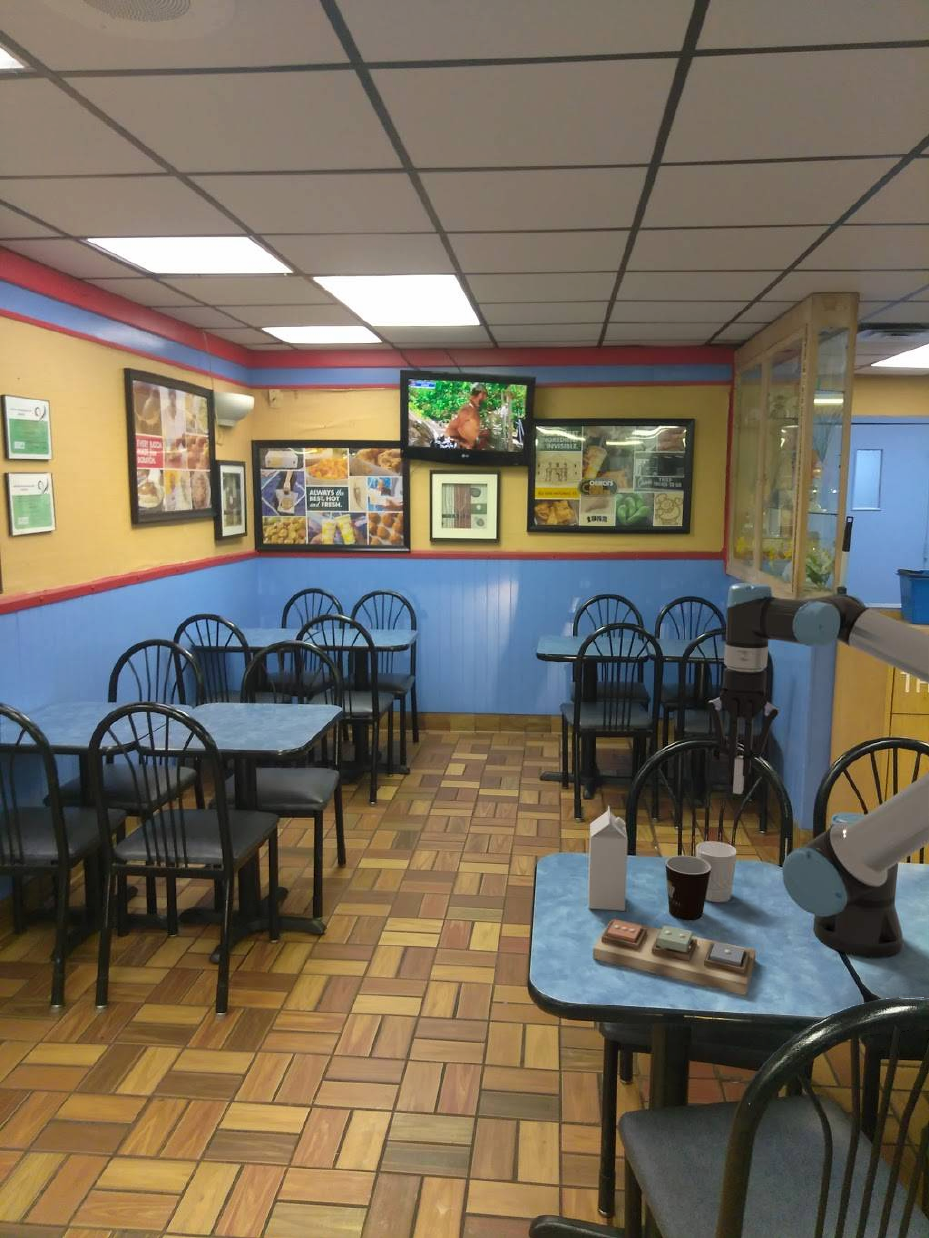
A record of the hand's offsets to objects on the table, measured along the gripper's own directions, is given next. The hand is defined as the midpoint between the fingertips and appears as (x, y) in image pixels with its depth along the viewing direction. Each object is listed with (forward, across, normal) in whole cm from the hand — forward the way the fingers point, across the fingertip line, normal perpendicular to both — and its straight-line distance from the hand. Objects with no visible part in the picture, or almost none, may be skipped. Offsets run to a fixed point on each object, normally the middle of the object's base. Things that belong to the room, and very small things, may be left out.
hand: (738, 791), depth 165 cm
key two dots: (+23, -7, -18) cm, 30 cm away
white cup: (+27, -5, +11) cm, 29 cm away
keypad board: (+26, -7, -18) cm, 33 cm away
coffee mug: (+27, -9, +2) cm, 28 cm away
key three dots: (+24, -16, -18) cm, 34 cm away
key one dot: (+24, +2, -18) cm, 30 cm away
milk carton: (+27, -24, -2) cm, 36 cm away
